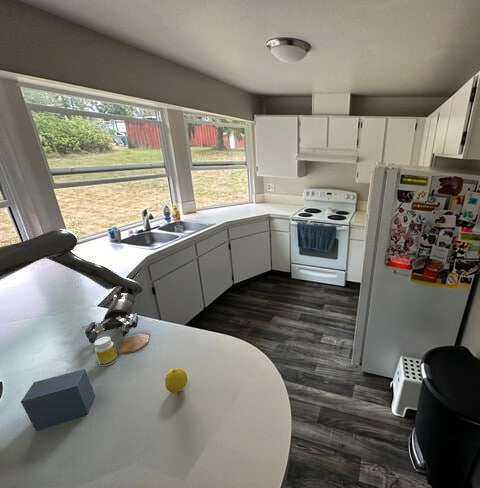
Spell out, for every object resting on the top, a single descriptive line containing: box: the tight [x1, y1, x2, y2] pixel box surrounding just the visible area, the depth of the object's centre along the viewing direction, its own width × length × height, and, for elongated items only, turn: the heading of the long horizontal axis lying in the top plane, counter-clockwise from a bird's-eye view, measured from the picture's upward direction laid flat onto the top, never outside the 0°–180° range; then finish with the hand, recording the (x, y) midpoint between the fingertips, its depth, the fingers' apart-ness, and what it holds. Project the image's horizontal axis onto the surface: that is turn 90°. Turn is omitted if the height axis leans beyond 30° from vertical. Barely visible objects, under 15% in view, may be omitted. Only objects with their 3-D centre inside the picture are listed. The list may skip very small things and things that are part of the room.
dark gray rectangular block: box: [20, 368, 96, 432], centre depth 65 cm, size 10×6×10 cm, turn 117°
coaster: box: [117, 333, 150, 354], centre depth 90 cm, size 9×9×1 cm
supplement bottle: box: [93, 336, 119, 367], centre depth 81 cm, size 5×5×8 cm
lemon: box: [164, 367, 188, 394], centre depth 72 cm, size 6×6×8 cm
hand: (108, 337), depth 85 cm, fingers open, 8 cm apart
